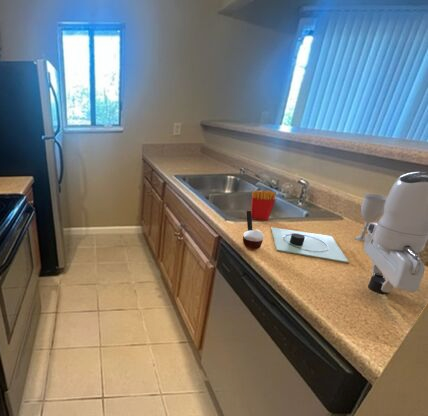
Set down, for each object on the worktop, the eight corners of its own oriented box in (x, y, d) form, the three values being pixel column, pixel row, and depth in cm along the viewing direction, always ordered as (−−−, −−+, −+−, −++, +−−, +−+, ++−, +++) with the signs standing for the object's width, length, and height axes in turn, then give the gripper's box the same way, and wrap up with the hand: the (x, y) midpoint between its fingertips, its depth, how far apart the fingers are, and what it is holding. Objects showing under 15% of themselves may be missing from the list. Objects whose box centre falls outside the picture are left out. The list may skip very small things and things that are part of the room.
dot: (384, 287, 74) (388, 277, 73) (391, 296, 70) (395, 286, 69) (365, 283, 75) (368, 274, 74) (371, 292, 72) (375, 282, 71)
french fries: (269, 217, 123) (275, 189, 119) (271, 221, 119) (277, 192, 115) (246, 215, 126) (251, 188, 121) (248, 218, 122) (253, 191, 117)
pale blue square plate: (331, 237, 105) (331, 235, 104) (348, 263, 88) (349, 261, 87) (270, 228, 113) (271, 226, 112) (276, 250, 96) (276, 249, 96)
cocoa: (262, 254, 94) (269, 222, 89) (242, 251, 96) (248, 219, 92) (258, 241, 102) (264, 212, 98) (240, 239, 104) (245, 210, 100)
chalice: (369, 250, 95) (388, 201, 89) (345, 243, 100) (360, 196, 94) (375, 244, 99) (393, 197, 93) (351, 237, 104) (366, 192, 98)
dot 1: (301, 241, 100) (303, 234, 99) (303, 246, 97) (306, 239, 96) (288, 239, 102) (290, 232, 101) (290, 244, 99) (292, 237, 98)
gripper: (443, 261, 57) (418, 313, 62) (396, 224, 75) (379, 267, 80) (402, 255, 60) (381, 306, 65) (366, 220, 77) (351, 263, 82)
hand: (380, 284), depth 72 cm, fingers closed on dot, 4 cm apart
